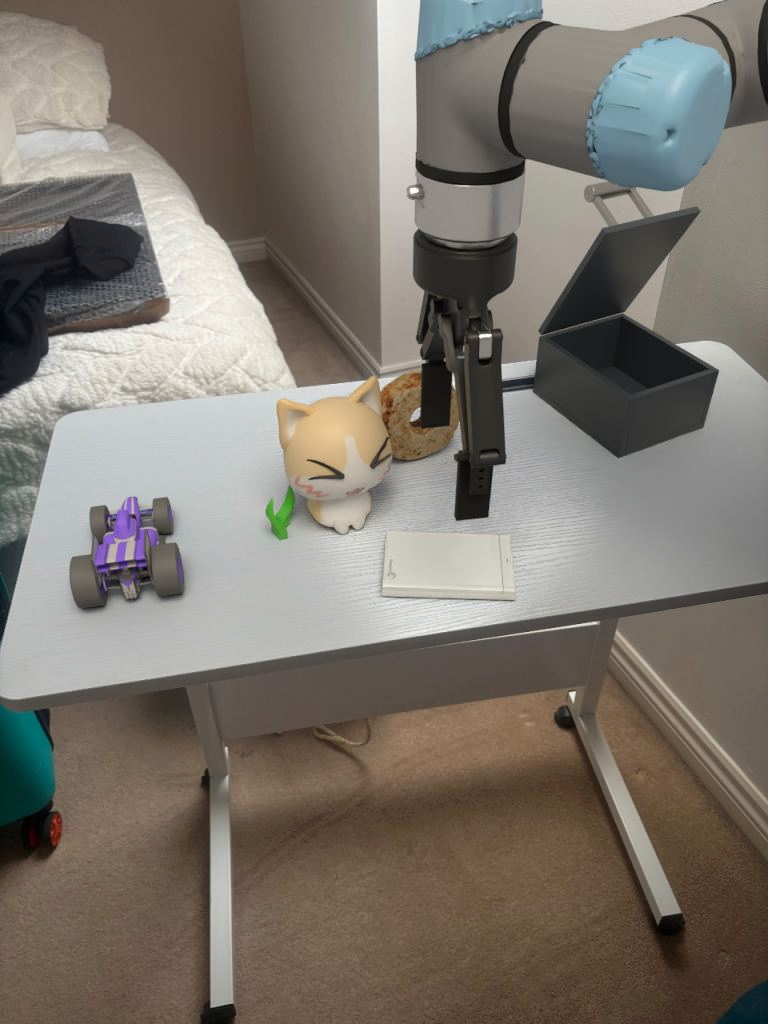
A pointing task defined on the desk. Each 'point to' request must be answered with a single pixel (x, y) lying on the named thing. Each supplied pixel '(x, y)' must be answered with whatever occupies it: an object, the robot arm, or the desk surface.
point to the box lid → (616, 260)
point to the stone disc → (406, 434)
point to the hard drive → (448, 565)
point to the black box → (623, 383)
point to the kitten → (333, 457)
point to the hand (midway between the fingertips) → (451, 468)
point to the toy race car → (127, 553)
